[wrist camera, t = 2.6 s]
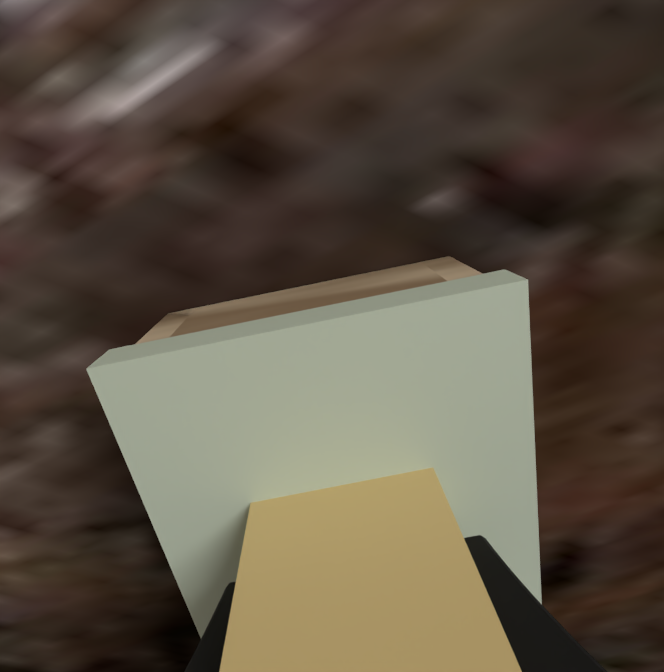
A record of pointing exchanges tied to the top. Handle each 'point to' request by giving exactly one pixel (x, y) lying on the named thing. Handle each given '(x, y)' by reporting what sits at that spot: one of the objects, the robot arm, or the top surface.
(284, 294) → the box
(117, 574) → the top surface
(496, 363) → the lid
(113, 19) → the top surface
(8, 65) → the top surface
